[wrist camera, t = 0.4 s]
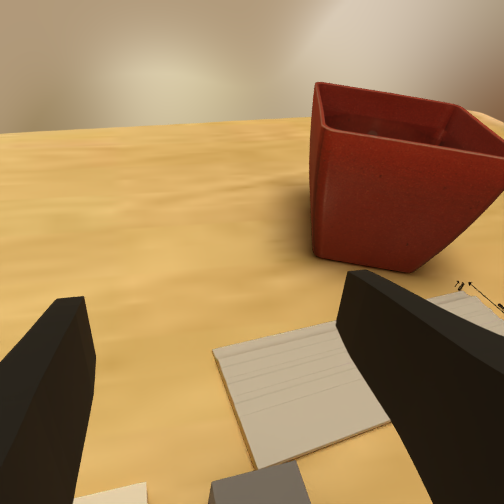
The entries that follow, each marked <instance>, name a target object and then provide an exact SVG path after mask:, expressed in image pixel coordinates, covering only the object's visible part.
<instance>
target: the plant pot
mask: <svg viewBox="0 0 504 504" xmlns="http://www.w3.org/2000/svg"><path fill="white" fill-rule="evenodd" d="M309 183H310V204H311V222H312V246H313V252H314V254H315V255H316V256H318V257H320V258H325V259H331V260H337V261H343V262H348V263H354V264H360V265H366V266H372V267H378V268H383V269H389V270H395V271H401V272H407V273H411V272H414V271H415V270H416V269H418V268H419V267H421V266H422V265H424V264H425V263H426V262H428V261H429V260H430V259H432V258H433V257H434V256H435V255H437V254H438V253H439V252H441V251H442V250H443V249H444V248H445V247H447V246H448V245H449V244H450V243H451V242H453V241H454V240H455V239H456V238H457V237H458V236H459V235H460V234H462V233H463V232H464V231H465V230H466V229H467V228H468V227H469V226H470V225H471V224H472V223H473V222H474V221H475V220H476V219H477V218H478V217H479V216H480V215H481V214H482V213H483V212H484V211H485V210H486V209H487V208H488V207H489V206H490V205H491V204H492V203H493V202H494V201H495V200H496V199H497V198H498V196H499V195H500V194H501V193H502V192H503V191H504V140H503V139H502V138H501V137H500V136H498V135H497V134H496V133H494V132H493V131H492V130H491V129H489V128H488V127H487V126H485V125H484V124H483V123H482V122H480V121H479V120H478V119H477V118H475V117H474V116H473V115H472V114H470V113H469V112H468V111H467V110H465V109H464V108H463V107H461V106H458V105H455V104H450V103H445V102H439V101H434V100H428V99H423V98H417V97H411V96H404V95H399V94H394V93H387V92H380V91H375V90H368V89H362V88H356V87H350V86H344V85H337V84H331V83H324V82H316V83H315V88H314V95H313V106H312V117H311V132H310V155H309Z"/></svg>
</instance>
